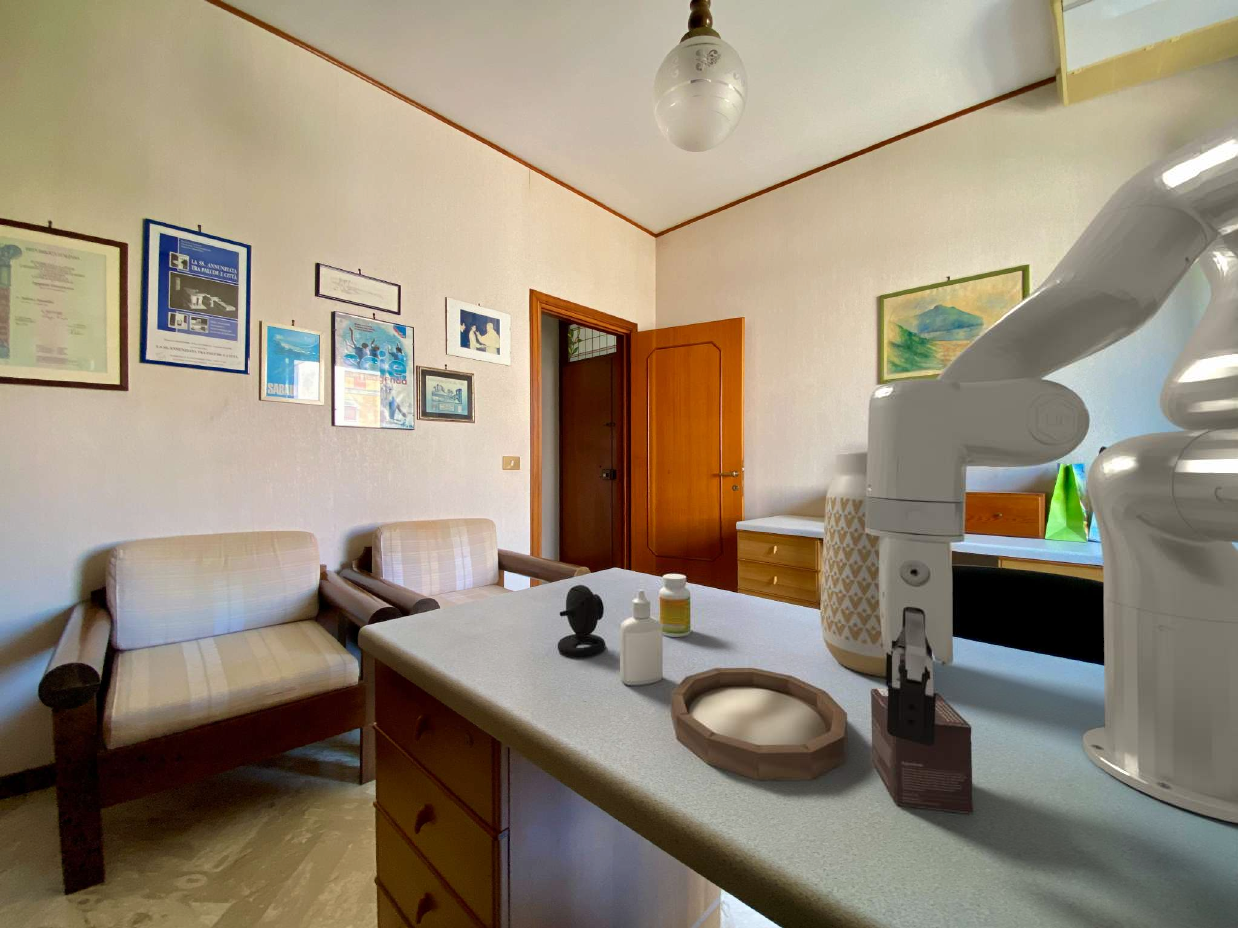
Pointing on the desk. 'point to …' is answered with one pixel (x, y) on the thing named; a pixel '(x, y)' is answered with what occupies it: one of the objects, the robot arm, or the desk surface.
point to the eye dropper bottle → (641, 645)
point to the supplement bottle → (674, 606)
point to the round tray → (759, 723)
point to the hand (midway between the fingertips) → (906, 712)
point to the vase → (851, 572)
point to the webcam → (582, 623)
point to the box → (924, 760)
